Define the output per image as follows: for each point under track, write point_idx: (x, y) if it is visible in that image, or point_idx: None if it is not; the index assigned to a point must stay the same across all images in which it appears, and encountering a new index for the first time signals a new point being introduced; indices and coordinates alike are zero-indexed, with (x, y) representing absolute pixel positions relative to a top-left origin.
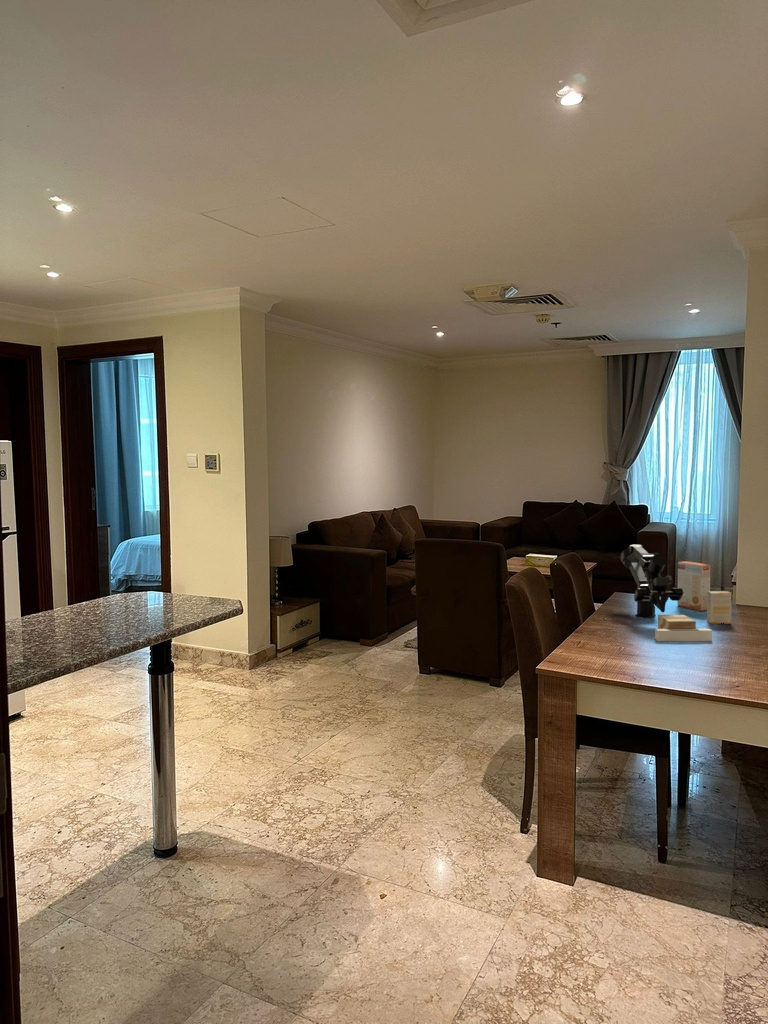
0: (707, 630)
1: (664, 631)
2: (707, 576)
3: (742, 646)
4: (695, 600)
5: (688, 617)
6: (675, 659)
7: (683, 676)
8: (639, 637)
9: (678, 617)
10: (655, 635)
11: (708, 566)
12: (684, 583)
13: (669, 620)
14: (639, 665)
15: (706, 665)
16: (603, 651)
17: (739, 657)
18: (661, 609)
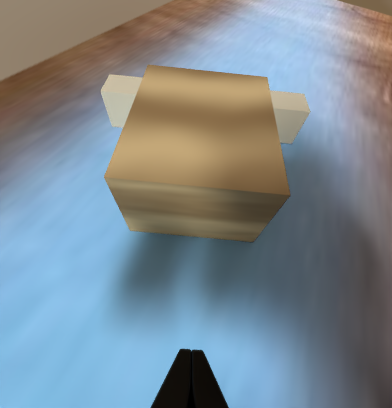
0: (126, 76)
1: (279, 94)
2: None
3: (79, 69)
4: None
5: (129, 116)
6: (279, 39)
7: (288, 5)
8: (342, 169)
9: (186, 123)
10: (297, 130)
11: None
12: None
13: (259, 88)
14: (346, 31)
15: (237, 19)
16: None
17: (154, 31)
18: (210, 380)
